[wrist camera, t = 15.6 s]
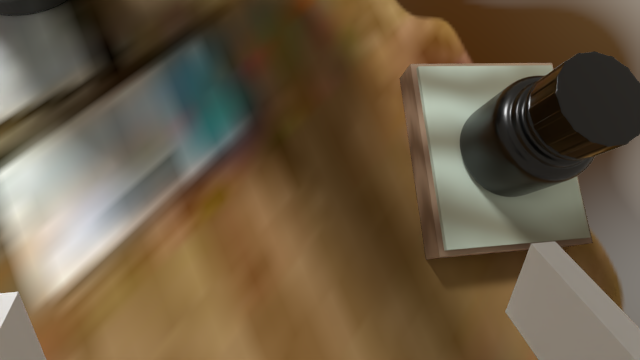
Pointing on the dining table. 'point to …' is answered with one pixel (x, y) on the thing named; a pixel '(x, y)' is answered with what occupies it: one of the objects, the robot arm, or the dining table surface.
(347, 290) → the dining table surface
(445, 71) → the mat platform
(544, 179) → the ink bottle
